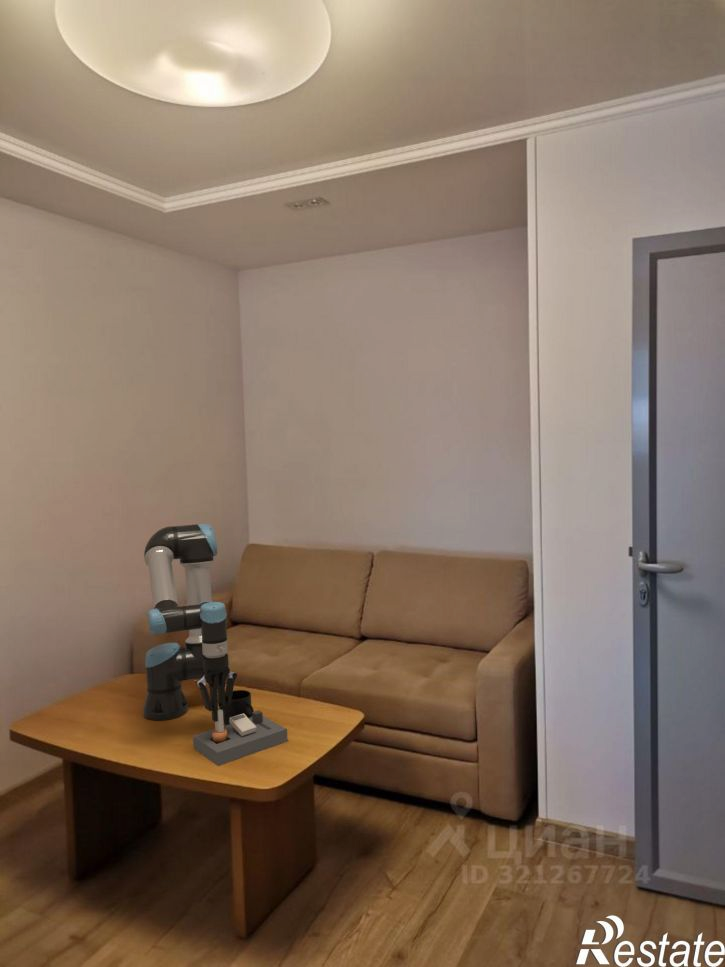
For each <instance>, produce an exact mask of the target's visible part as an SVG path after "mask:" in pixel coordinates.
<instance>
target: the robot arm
mask: <svg viewBox="0 0 725 967" xmlns="http://www.w3.org/2000/svg"><path fill="white" fill-rule="evenodd" d="M143 552H144V553H143V556H144V563H145V564H146V566H148V571H149V572H148V575H149V580H150V591H151V599H152V608H153V609H149V610H148V611H147V616H148V617H147V618H148V619H147V620H148V621H147V622H148V630H149V633H150V634H152V635H155V634H156V635H157V634H158V635H160V634H163V635H164V634H170V633H177V632H182V631H183V632H184V631H188V635H189V636H188V637H187V638H186V639H185V644H184V645H185V646H180V644H179V643H178V642H166V643H162V644H158V645H156V646H154V647H151V648H150V649H148V651H146V653H145V664H144V667H145V668H146V669H145V670H146V671H145V672H146V689H147V693H146V697H145V700H144V704H143V708H142V713H143V714H142V715H143V717H144V718H145V719H147V720H151V721H167V720H171V719H176V718H180V717H181V716H183V715H185V714H186V713H187V712H188V711H189V703H188V700H187V698H186V696H185V692H184V690H183V686H182V682H184V681H189V680H190V681H191V680H196V681H195V685H196V686H197V688H199V692H200V694H201V699H202V701H203V705H204V709H205V710H207V711H209V712H211V718H212V719H211V720H212V721H213V722H214V729H215V730H216V731H218V732H219V733H220V732H223V731H224V726H225V723H224V719H225V717H226V715H225V710H226V709H227V706H230V705H231V700H232V694H233V691H234V687H235V681H236V679H237V678H238V673H237V672H234V671H231V670H230V668H229V664H230V662H229V654H228V652H229V647H228V646H229V645H228V644H229V643H228V633H227V632H228V631H227V610H226V605H225V604H224V602H220V601H212V597H213V596H212V584H211V570H210V566H211V565H212V564H213V562H214V557H216V556H217V555H218V546H217V540H216V536H215V532H214V529H213V527H212V526H211V524H209V523H202V524H201V523H197V524H185V525H176V526H175V525H174V526H165V527H163V528H161V529H159V530H157V531H156V532H155V533H154V534H152V536H151V537H150V538H149V539H148V541H147V542H146V545H145V548H144V551H143ZM174 560H179V564H180V565H181V566H182V567H183V568H184V574H185V588H186V603H187V605H182V606H181V605H180V606H179V603H178V596H177V595H178V594H177V590H176V583H175V582H176V581H175V576H174V569H173V564H172V562H173V561H174ZM197 679H199V680H197ZM207 684H208V687H209V691H208V689H207V687H206V686H207Z"/></svg>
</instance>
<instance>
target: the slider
mask: <svg viewBox="0 0 725 967" xmlns="http://www.w3.org/2000/svg"><path fill="white" fill-rule="evenodd" d="M263 716H264V715H263V711H261V710H255V711H254V712H252V721H253V722H254V723H260V722H263Z"/></svg>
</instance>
